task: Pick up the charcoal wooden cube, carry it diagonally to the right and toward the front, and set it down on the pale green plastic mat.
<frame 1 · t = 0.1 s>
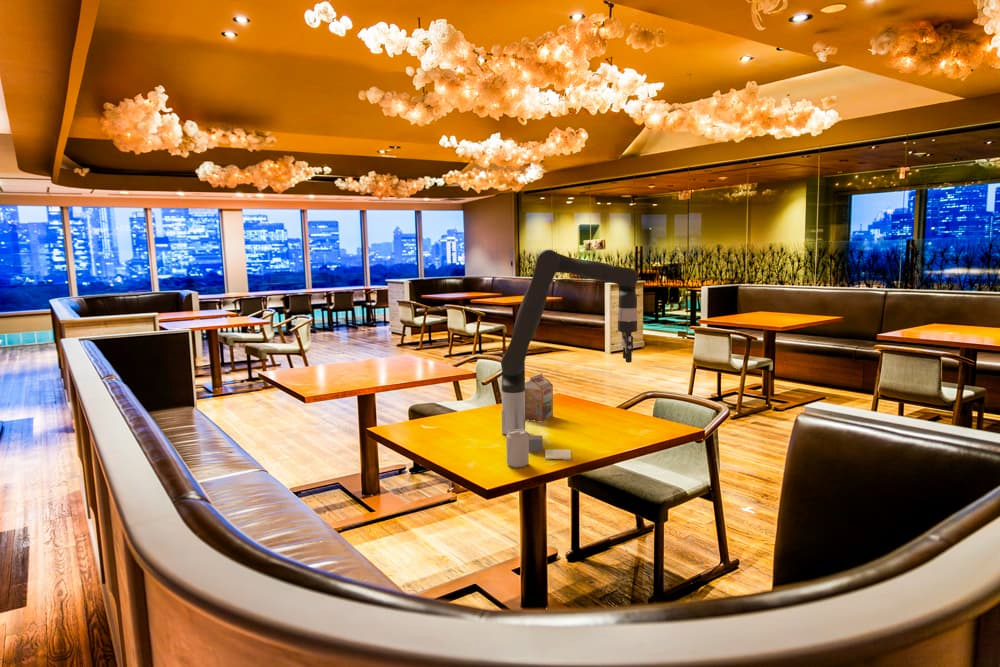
hand: (627, 360, 253), 29 cm above the table, tool pointing down, fingers open, 8 cm apart
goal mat: (557, 455, 230), on the table
can: (517, 465, 221), on the table
milk carton: (536, 418, 282), on the table
cube: (535, 450, 236), on the table
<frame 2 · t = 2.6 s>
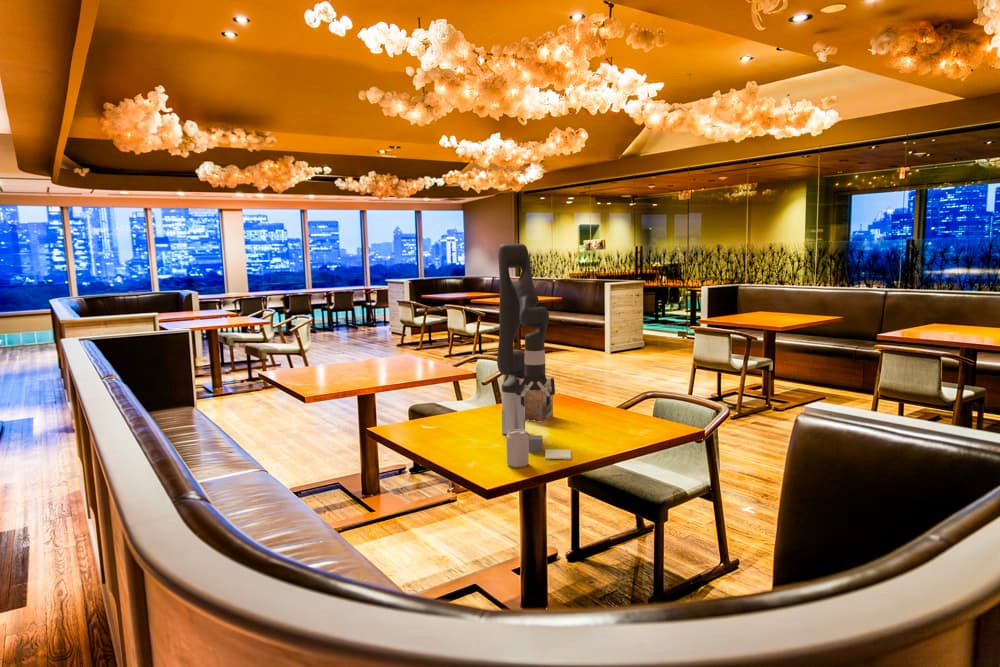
hand: (535, 406, 234), 17 cm above the table, tool pointing down, fingers open, 8 cm apart
nothing on the table moved.
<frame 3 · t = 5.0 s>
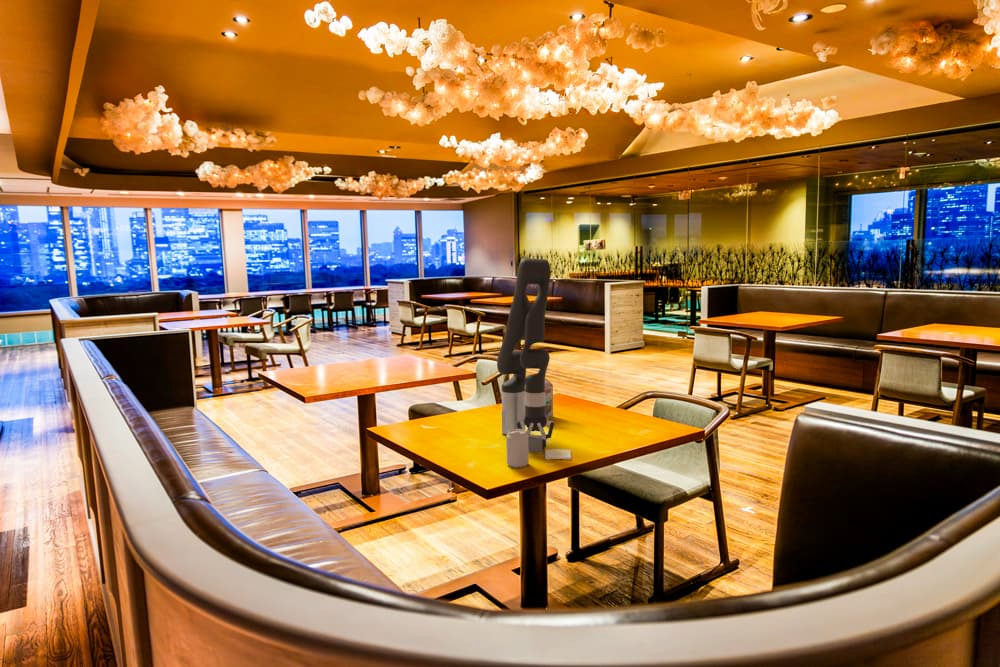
hand: (535, 448, 236), 1 cm above the table, tool pointing down, fingers closed on cube, 5 cm apart
cube: (535, 450, 236), on the table, touching gripper
everything else where it was.
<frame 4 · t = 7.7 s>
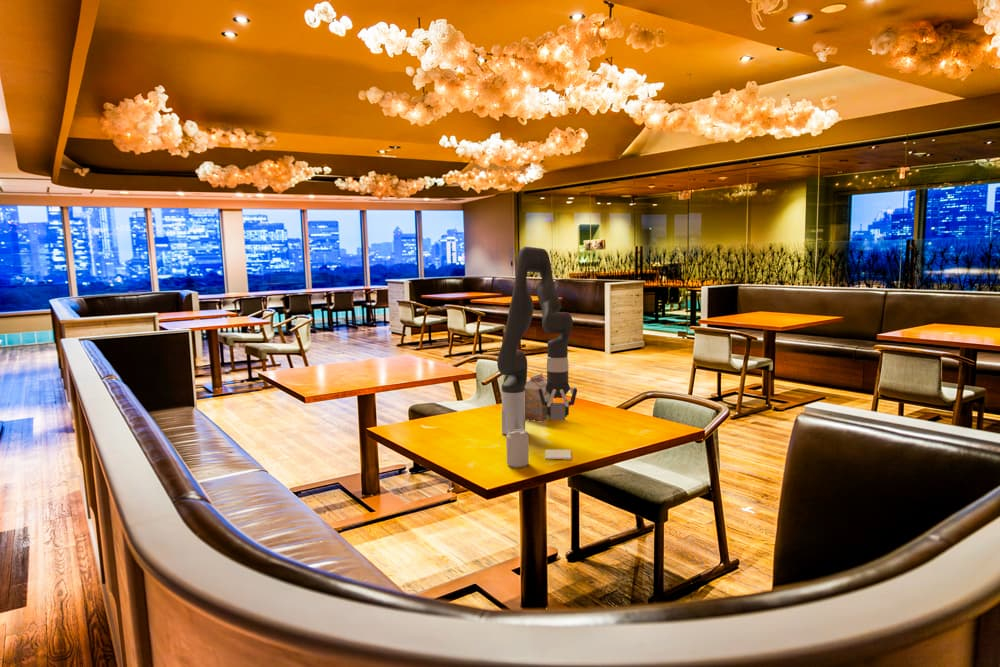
hand: (557, 416, 228), 14 cm above the table, tool pointing down, fingers closed on cube, 5 cm apart
cube: (557, 418, 228), point 14 cm above the table, touching gripper
everything else where it was.
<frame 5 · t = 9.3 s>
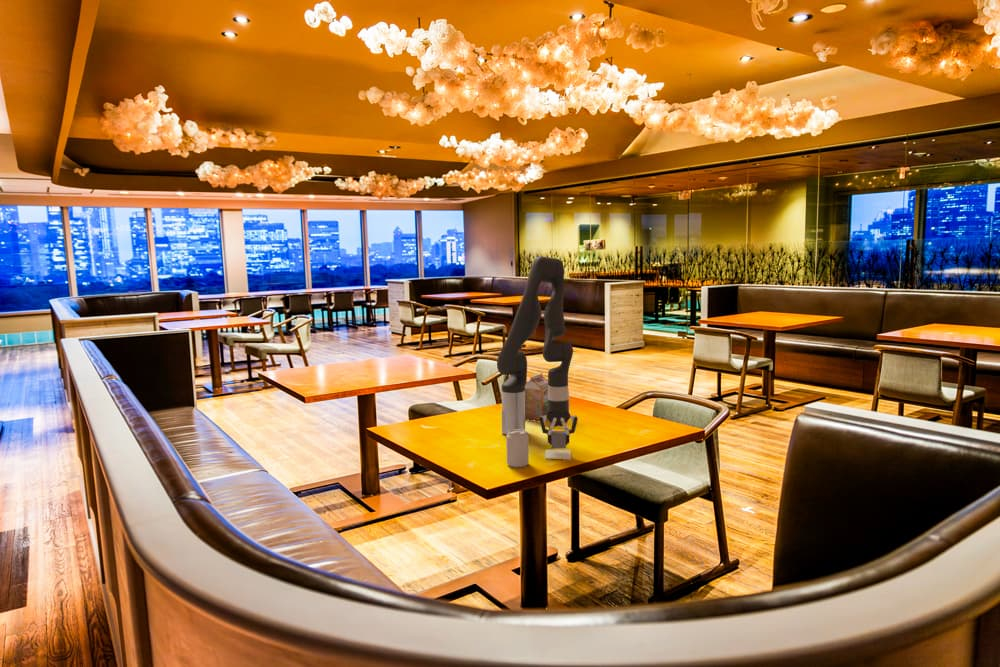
hand: (558, 444, 229), 4 cm above the table, tool pointing down, fingers closed on cube, 5 cm apart
cube: (558, 446, 229), point 3 cm above the table, touching gripper
everything else where it was.
when the fingers open (3 cm above the table, at t = 10.5 s): cube drops 1 cm, resting on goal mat.
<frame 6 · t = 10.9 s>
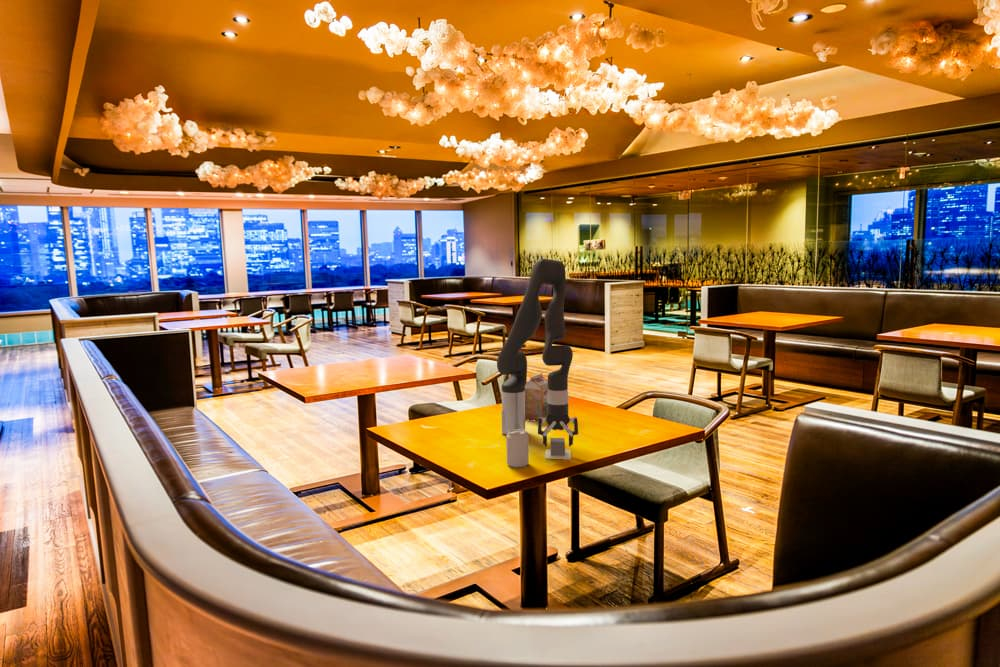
hand: (557, 445, 229), 4 cm above the table, tool pointing down, fingers open, 8 cm apart
cube: (557, 453, 230), point 1 cm above the table, touching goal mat
everything else where it was.
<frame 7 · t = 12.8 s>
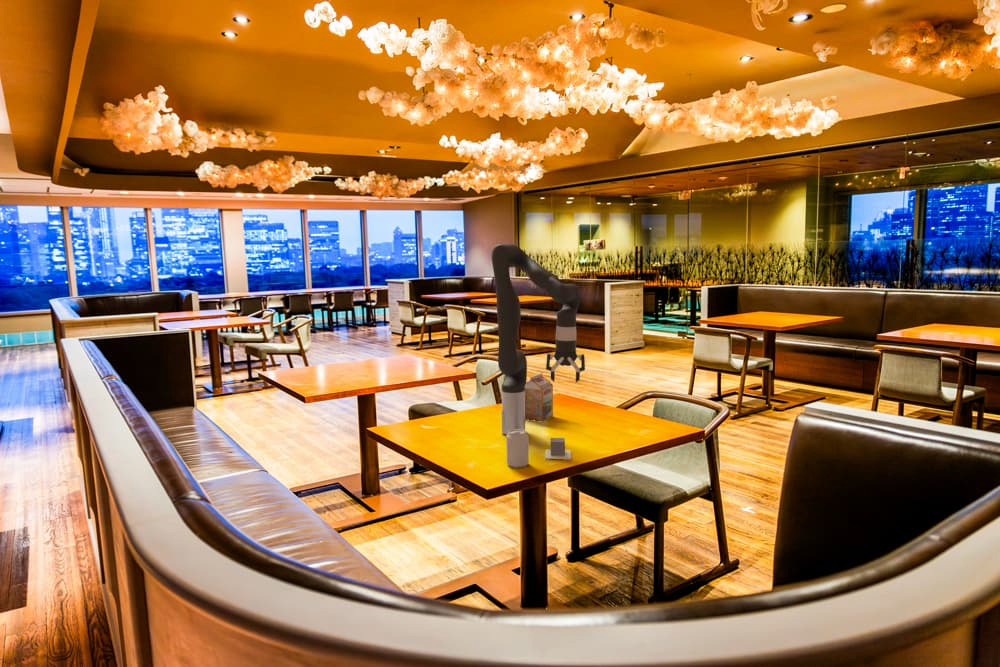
hand: (565, 381, 239), 24 cm above the table, tool pointing down, fingers open, 8 cm apart
nothing on the table moved.
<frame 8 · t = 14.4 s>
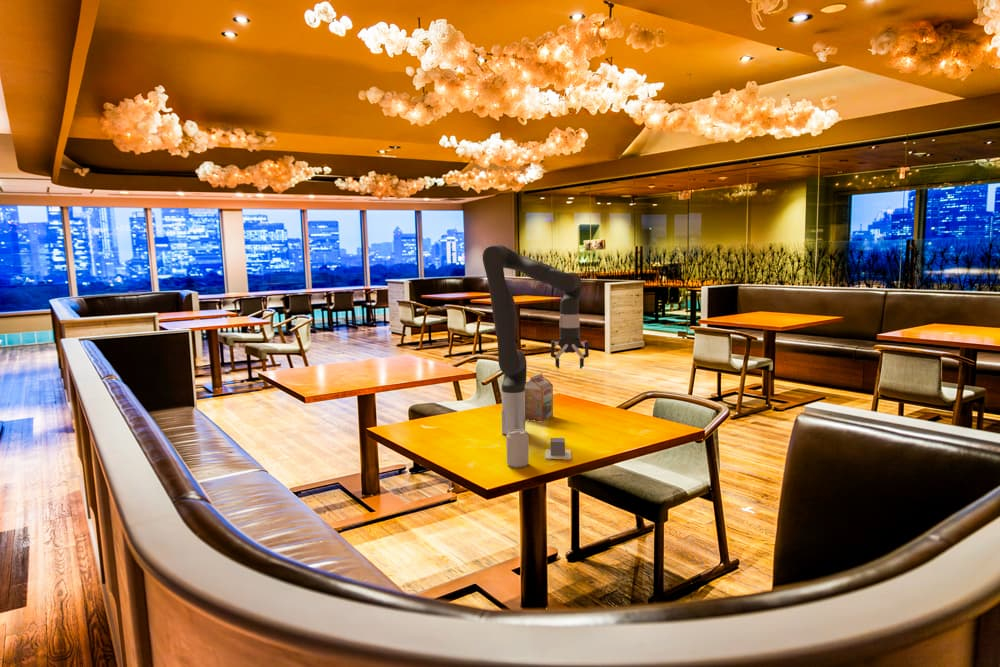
hand: (569, 368, 245), 28 cm above the table, tool pointing down, fingers open, 8 cm apart
nothing on the table moved.
at the end: cube 0.1 cm off-centre on the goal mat, point 0.8 cm above the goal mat's base; cube tilted 0°; the gripper is holding nothing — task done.
